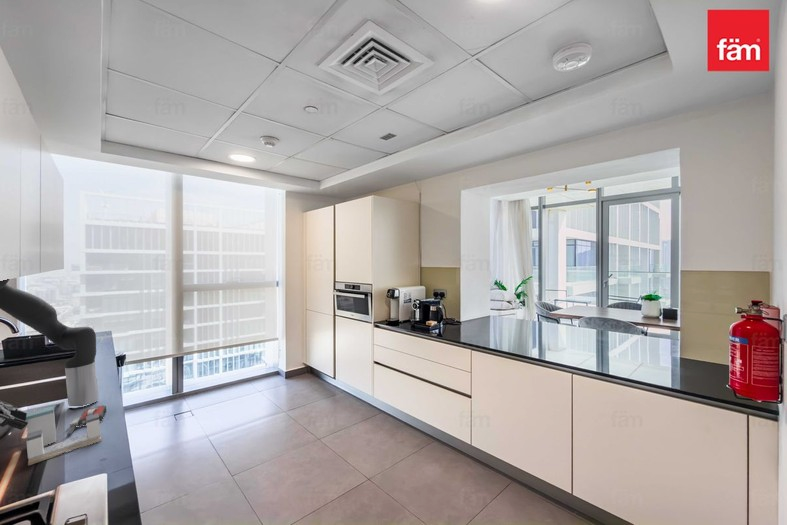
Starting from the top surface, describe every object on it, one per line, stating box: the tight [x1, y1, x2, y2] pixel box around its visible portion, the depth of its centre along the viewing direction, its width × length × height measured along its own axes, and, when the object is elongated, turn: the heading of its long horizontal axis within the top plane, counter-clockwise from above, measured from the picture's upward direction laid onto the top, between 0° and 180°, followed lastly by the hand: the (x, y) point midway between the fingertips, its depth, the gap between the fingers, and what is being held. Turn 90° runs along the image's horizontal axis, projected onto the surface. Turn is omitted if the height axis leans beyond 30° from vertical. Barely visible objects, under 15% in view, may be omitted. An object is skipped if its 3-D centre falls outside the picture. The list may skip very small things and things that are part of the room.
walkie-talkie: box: [66, 405, 107, 436], centre depth 120 cm, size 9×4×20 cm
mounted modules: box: [25, 413, 102, 460], centre depth 103 cm, size 4×16×6 cm, turn 135°
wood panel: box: [27, 435, 102, 466], centre depth 103 cm, size 7×16×1 cm, turn 135°
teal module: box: [26, 405, 57, 447], centre depth 107 cm, size 4×6×11 cm
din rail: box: [28, 433, 101, 461], centre depth 103 cm, size 5×16×1 cm, turn 135°
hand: (26, 422), depth 105 cm, fingers open, 8 cm apart
